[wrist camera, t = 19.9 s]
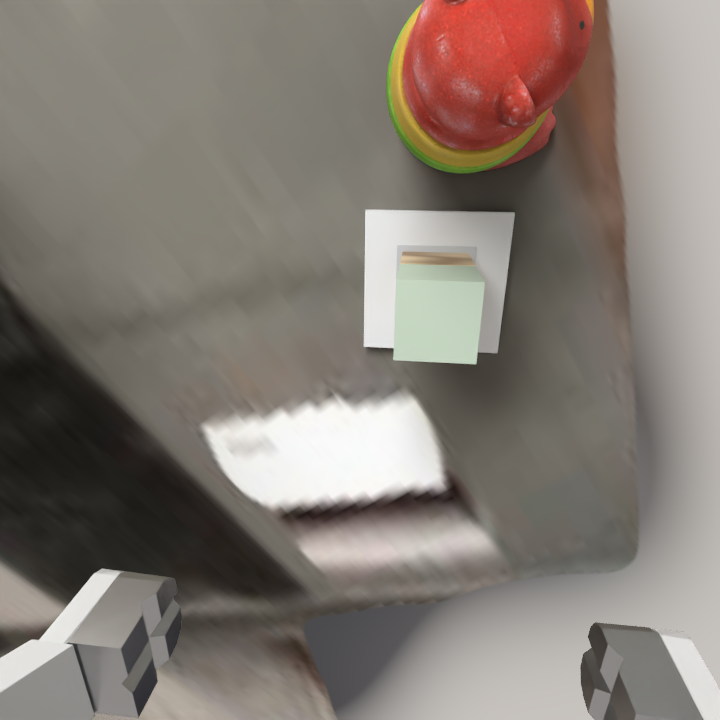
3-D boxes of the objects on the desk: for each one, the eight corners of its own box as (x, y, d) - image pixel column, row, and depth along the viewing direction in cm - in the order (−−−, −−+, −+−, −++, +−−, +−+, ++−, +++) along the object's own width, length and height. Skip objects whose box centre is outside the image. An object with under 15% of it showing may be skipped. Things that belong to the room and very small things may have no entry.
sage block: (397, 334, 33) (393, 360, 29) (399, 263, 32) (396, 279, 27) (468, 337, 33) (476, 364, 28) (475, 266, 31) (485, 282, 26)
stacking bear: (561, 140, 33) (700, 107, 17) (427, 204, 36) (433, 232, 19) (509, -28, 30) (617, -272, 14) (366, 56, 33) (311, -62, 16)
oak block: (399, 314, 38) (397, 333, 33) (402, 251, 36) (399, 262, 32) (462, 316, 38) (468, 336, 33) (468, 253, 36) (475, 265, 31)
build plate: (364, 343, 40) (363, 347, 40) (366, 209, 36) (365, 210, 35) (495, 349, 39) (497, 353, 38) (513, 211, 35) (515, 213, 34)
